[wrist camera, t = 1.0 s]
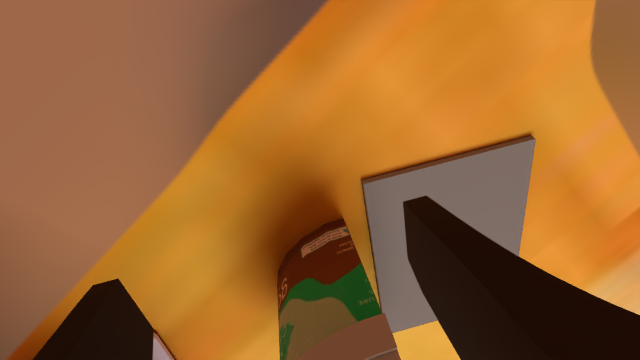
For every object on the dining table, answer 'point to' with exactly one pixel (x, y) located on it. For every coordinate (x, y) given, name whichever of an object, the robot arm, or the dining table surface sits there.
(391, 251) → the mat
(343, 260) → the food container
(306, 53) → the dining table surface
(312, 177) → the dining table surface
